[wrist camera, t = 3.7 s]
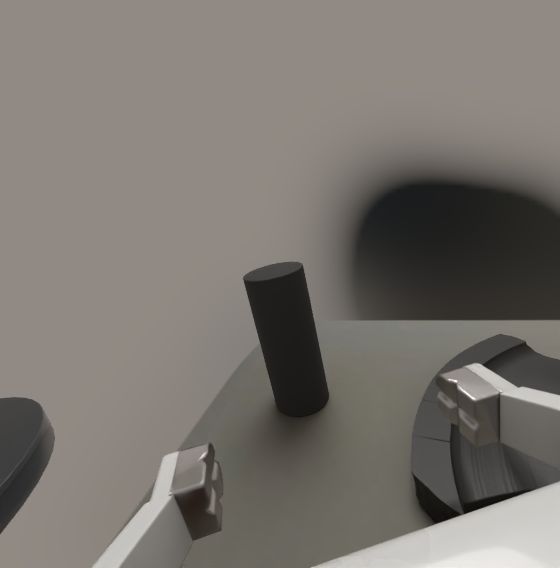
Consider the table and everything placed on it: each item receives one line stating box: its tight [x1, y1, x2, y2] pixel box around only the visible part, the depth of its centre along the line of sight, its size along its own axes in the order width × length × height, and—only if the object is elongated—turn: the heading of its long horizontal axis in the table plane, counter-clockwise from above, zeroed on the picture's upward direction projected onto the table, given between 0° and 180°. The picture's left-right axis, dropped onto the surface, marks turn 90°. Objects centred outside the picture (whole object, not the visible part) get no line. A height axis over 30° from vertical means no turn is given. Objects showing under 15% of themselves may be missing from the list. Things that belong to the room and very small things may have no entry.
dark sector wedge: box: [411, 334, 560, 523], centre depth 16 cm, size 8×14×2 cm, turn 114°
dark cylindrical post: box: [243, 262, 329, 417], centre depth 20 cm, size 4×4×10 cm
